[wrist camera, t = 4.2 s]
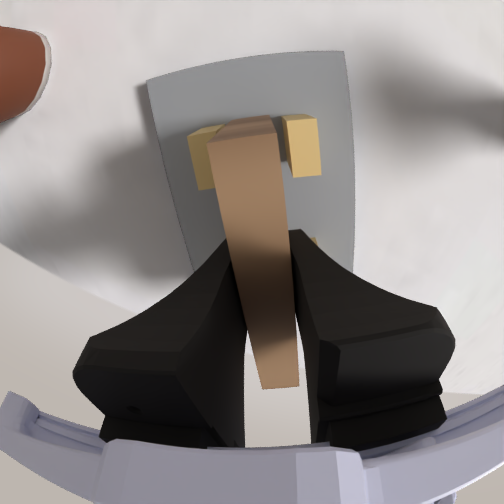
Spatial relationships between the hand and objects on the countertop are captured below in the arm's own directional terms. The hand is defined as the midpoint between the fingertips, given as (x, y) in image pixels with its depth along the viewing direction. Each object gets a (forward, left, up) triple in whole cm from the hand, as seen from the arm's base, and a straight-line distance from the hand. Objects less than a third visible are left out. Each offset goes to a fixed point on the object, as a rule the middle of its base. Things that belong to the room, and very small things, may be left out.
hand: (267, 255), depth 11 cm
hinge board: (0, 0, -6) cm, 6 cm away
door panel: (0, 0, -3) cm, 3 cm away
